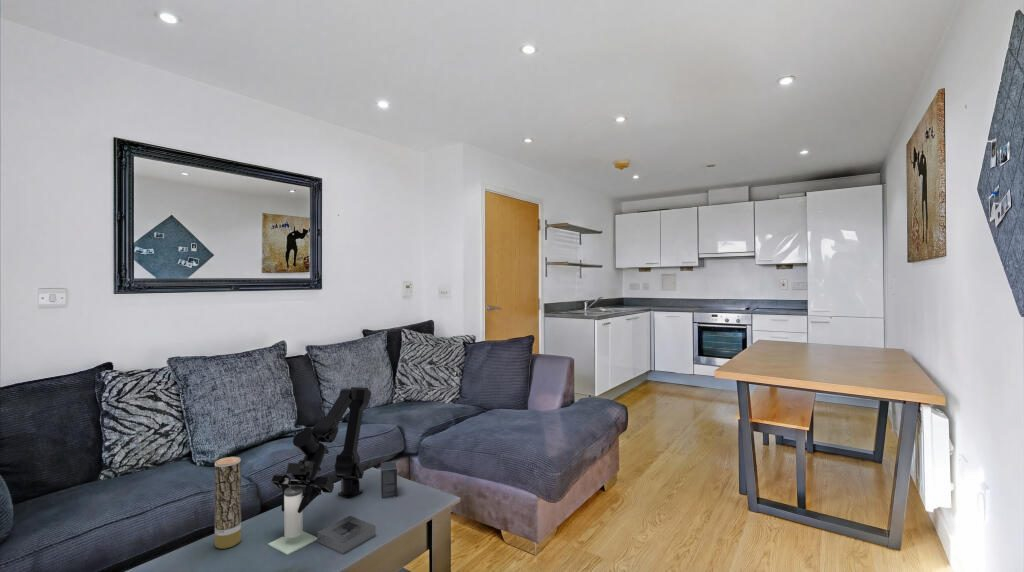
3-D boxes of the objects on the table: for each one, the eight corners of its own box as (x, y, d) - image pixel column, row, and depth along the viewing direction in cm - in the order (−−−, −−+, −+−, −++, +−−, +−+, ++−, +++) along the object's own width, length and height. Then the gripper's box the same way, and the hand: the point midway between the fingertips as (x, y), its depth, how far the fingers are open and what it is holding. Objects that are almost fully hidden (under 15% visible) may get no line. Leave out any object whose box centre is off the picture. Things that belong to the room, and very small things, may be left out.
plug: (283, 532, 143) (283, 488, 143) (301, 527, 146) (301, 484, 146) (285, 539, 139) (284, 494, 139) (303, 535, 141) (303, 490, 141)
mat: (268, 545, 141) (268, 543, 141) (298, 530, 149) (298, 529, 149) (287, 555, 135) (287, 553, 135) (318, 539, 144) (318, 538, 144)
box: (380, 490, 178) (380, 462, 178) (396, 488, 180) (396, 460, 180) (381, 499, 171) (381, 469, 171) (397, 496, 173) (397, 468, 173)
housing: (317, 541, 142) (317, 532, 142) (350, 524, 152) (350, 515, 152) (343, 554, 136) (343, 543, 136) (375, 535, 146) (375, 525, 146)
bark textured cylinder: (228, 551, 138) (228, 465, 138) (209, 548, 139) (208, 464, 139) (246, 538, 144) (246, 457, 144) (227, 536, 146) (227, 455, 146)
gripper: (274, 448, 148) (249, 499, 137) (328, 451, 144) (307, 504, 134) (290, 463, 155) (267, 513, 145) (342, 467, 152) (323, 518, 141)
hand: (290, 511), depth 141 cm, fingers closed on plug, 5 cm apart
